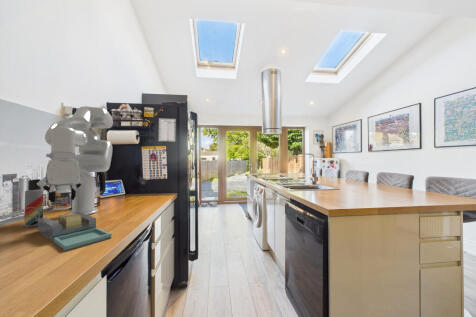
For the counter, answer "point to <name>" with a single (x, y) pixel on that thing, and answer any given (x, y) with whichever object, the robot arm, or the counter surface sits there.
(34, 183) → the lotion bottle
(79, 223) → the chip
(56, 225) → the slot block
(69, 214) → the chip
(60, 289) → the counter surface
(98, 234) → the tray
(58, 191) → the pill bottle
